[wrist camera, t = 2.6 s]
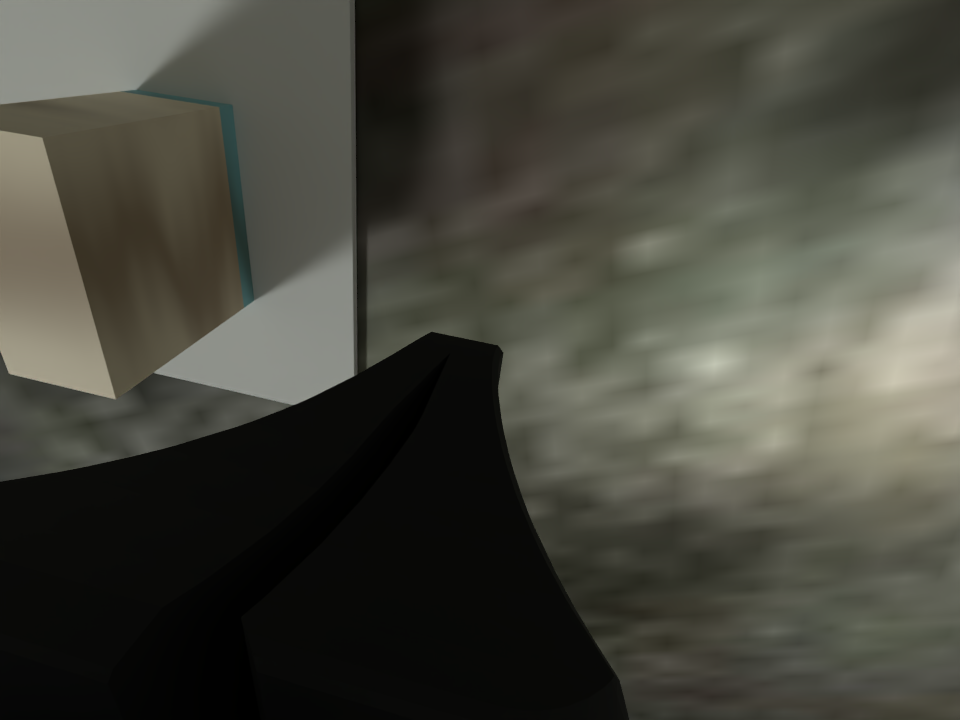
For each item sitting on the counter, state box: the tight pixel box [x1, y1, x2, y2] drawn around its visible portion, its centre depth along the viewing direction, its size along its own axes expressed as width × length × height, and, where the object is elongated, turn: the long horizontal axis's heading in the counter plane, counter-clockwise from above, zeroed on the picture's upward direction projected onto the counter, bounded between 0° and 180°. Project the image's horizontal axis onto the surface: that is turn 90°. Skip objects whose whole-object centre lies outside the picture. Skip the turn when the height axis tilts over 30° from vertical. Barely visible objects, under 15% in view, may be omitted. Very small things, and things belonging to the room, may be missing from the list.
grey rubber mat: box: [0, 0, 357, 405], centre depth 18 cm, size 14×14×1 cm
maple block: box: [0, 90, 254, 399], centre depth 15 cm, size 6×3×6 cm, turn 174°
